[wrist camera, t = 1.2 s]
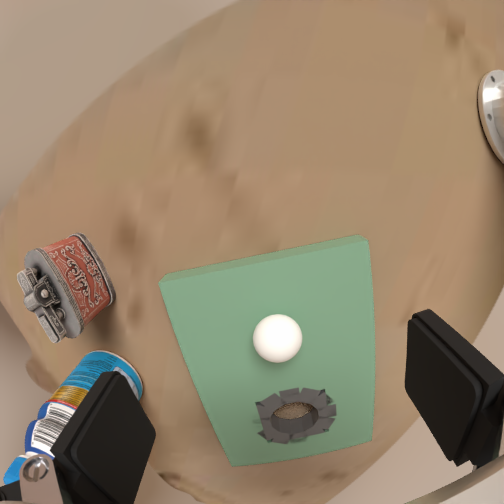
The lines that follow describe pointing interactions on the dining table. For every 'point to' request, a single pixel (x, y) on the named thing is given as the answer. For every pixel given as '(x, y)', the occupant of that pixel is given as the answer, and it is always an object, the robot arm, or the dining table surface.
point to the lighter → (65, 286)
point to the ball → (277, 338)
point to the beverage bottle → (69, 404)
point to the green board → (293, 370)
